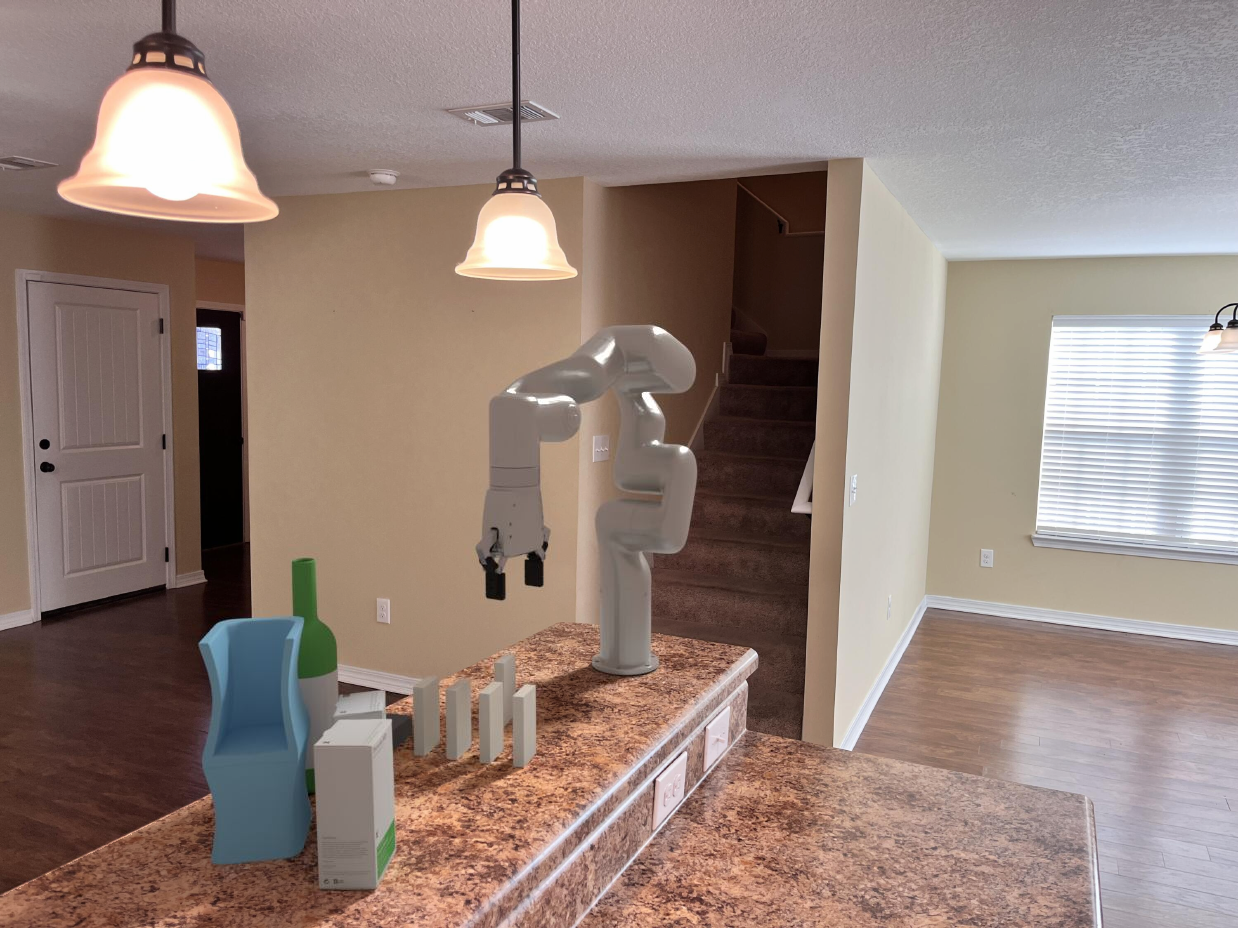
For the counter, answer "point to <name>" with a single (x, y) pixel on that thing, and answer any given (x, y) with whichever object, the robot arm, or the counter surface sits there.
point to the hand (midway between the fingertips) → (515, 592)
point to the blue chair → (256, 740)
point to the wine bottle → (314, 660)
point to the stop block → (400, 728)
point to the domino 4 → (506, 683)
